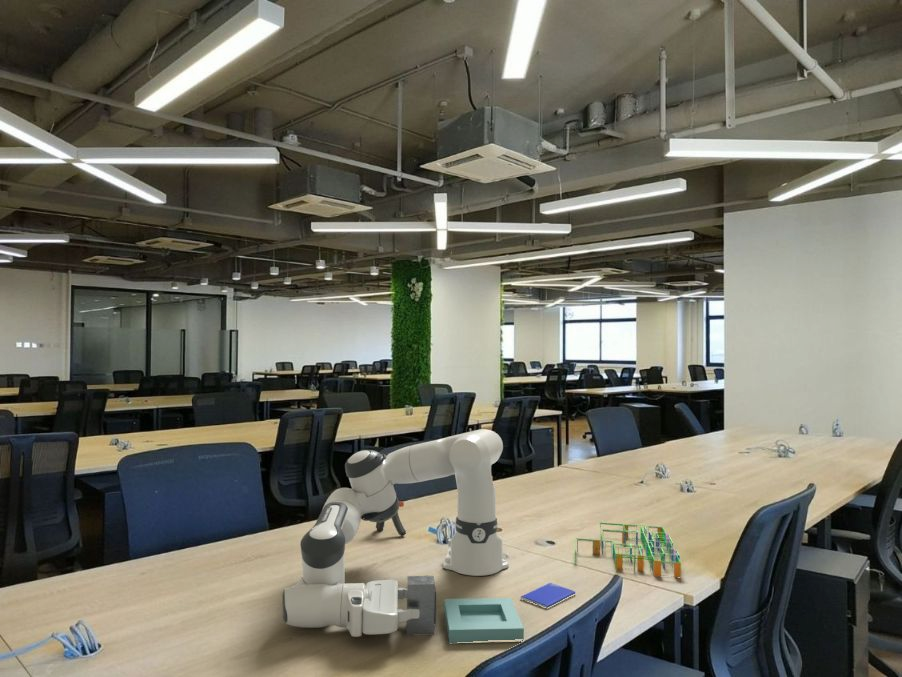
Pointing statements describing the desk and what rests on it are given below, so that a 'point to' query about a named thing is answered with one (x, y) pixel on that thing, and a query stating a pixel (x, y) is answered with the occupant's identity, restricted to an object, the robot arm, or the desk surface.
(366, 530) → the desk surface
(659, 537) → the house model
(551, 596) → the blue book
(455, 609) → the tray
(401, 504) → the hand grip strengthener
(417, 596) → the block
